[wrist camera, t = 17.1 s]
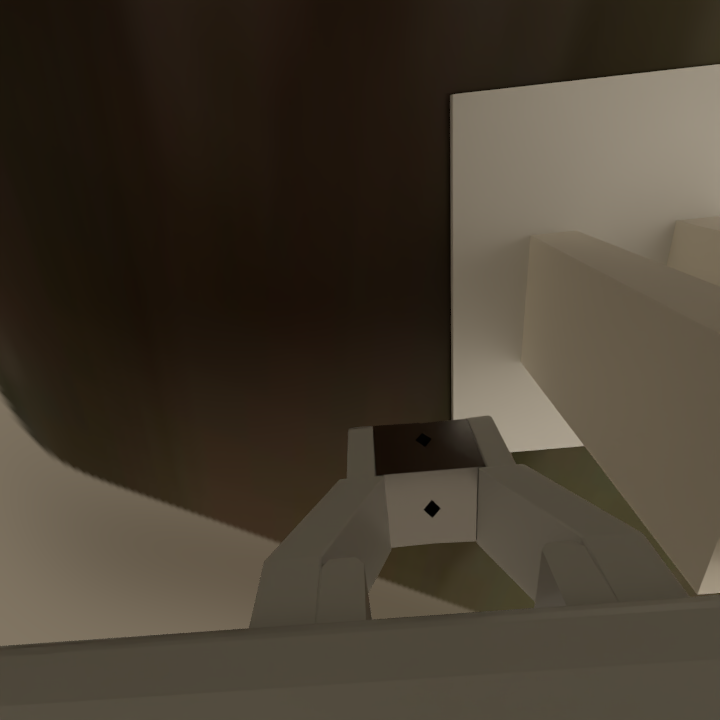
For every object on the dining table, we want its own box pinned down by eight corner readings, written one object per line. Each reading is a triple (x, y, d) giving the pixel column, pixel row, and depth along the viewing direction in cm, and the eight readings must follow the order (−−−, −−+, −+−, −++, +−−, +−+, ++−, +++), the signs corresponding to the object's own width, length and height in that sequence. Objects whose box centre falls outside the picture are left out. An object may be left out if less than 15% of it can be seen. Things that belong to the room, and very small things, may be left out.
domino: (520, 362, 17) (697, 594, 8) (530, 235, 15) (783, 367, 6) (561, 358, 17) (781, 588, 8) (576, 230, 15) (899, 357, 6)
